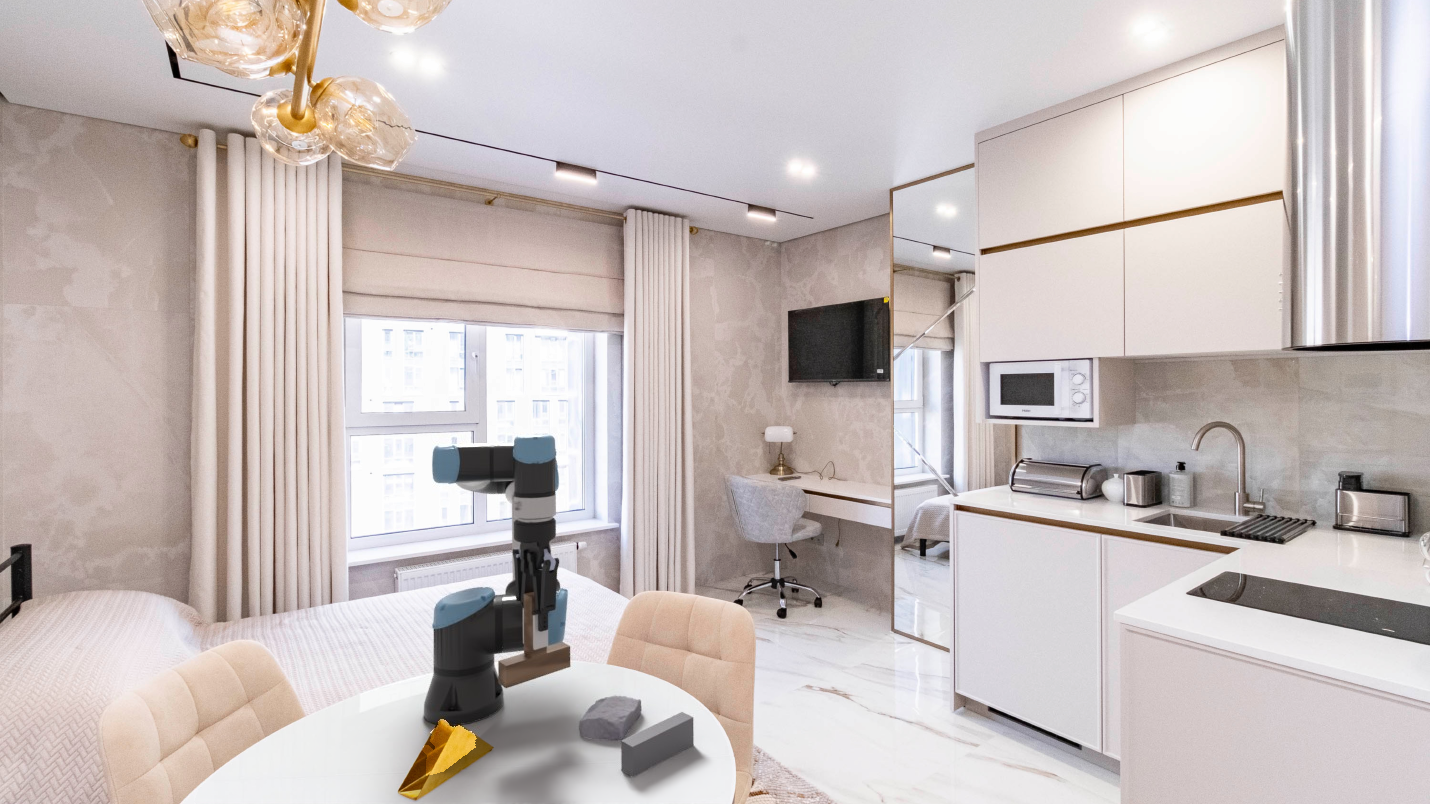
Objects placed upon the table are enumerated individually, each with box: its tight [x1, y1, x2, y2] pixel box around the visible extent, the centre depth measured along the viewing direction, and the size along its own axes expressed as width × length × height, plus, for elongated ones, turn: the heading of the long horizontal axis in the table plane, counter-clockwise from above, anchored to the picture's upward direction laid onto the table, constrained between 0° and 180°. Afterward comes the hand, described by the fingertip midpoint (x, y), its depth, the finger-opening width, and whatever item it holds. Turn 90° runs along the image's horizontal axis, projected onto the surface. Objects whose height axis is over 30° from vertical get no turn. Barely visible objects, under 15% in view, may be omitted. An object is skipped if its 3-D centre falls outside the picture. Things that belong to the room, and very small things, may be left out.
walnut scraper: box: [497, 592, 571, 689], centre depth 119 cm, size 3×13×15 cm, turn 134°
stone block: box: [578, 695, 642, 742], centre depth 124 cm, size 12×5×10 cm
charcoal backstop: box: [620, 711, 695, 778], centre depth 112 cm, size 3×14×5 cm, turn 136°
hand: (535, 644), depth 119 cm, fingers closed on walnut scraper, 3 cm apart
